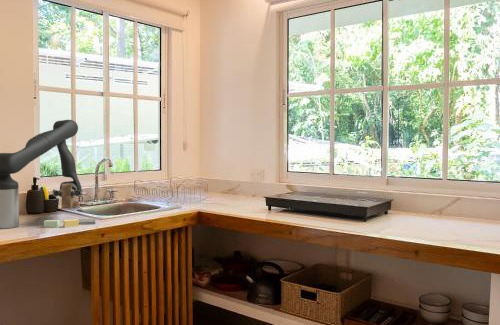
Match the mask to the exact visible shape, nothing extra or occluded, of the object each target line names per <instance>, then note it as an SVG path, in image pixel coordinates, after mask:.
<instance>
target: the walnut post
mask: <svg viewBox="0 0 500 325" xmlns="http://www.w3.org/2000/svg"><path fill="white" fill-rule="evenodd" d="M71 187H72V184H62V197H61V209H63V210H64V209H71V208H72V199H71Z"/></svg>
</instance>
